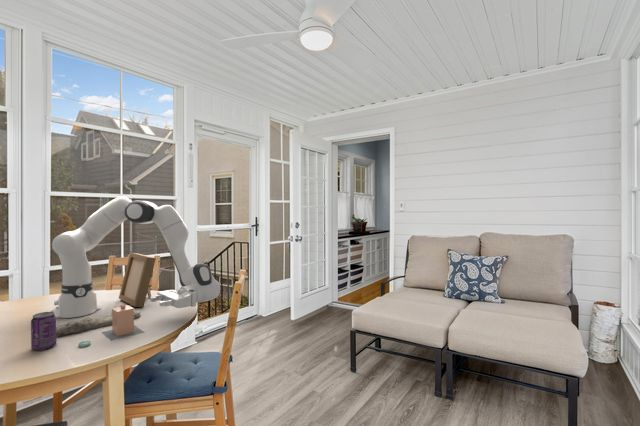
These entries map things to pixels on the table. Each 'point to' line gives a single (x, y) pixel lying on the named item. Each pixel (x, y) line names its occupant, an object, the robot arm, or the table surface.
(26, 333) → the table surface
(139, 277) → the photo frame
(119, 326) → the peach block with knob
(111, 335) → the mat
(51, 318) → the beverage can
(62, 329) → the long grey stone
